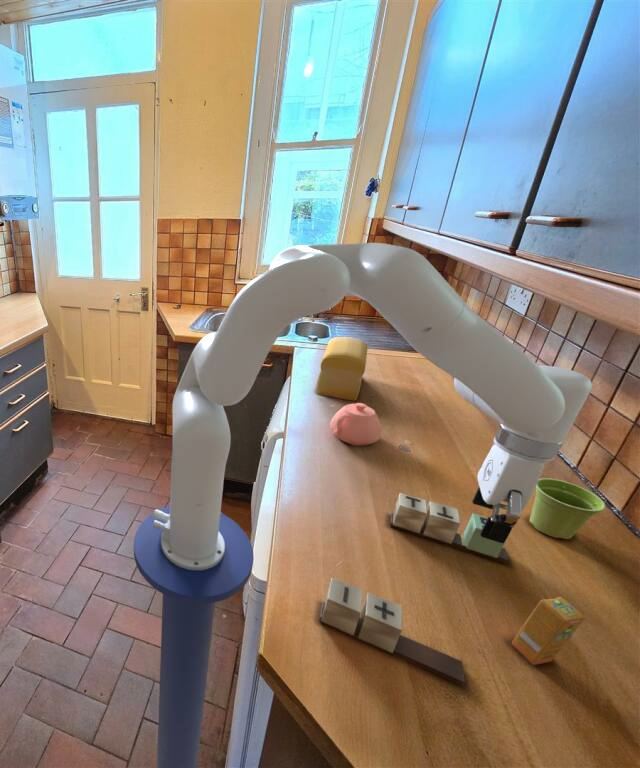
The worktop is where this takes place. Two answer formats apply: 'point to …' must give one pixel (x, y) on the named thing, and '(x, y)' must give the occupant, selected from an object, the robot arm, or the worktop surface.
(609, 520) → the worktop surface
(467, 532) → the pale green cube
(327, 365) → the bread
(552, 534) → the plant pot
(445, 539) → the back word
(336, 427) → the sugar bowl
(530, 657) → the supplement box
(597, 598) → the worktop surface
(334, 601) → the front word
